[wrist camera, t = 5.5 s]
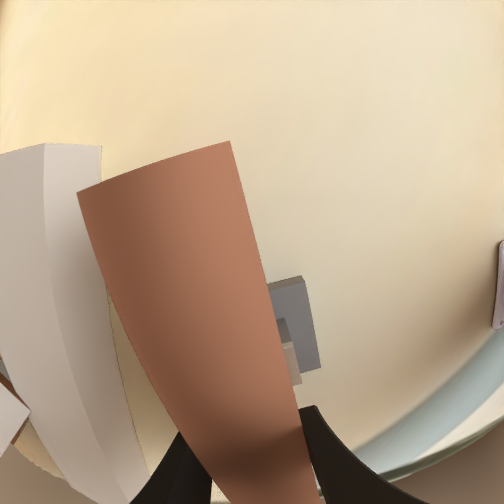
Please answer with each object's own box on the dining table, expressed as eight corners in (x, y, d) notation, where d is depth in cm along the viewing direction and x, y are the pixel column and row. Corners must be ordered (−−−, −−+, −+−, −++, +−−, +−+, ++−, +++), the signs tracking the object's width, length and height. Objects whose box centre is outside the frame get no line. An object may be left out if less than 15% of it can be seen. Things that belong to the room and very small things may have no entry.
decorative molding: (91, 463, 25) (161, 496, 23) (71, 487, 21) (144, 526, 19) (19, 160, 17) (108, 146, 15) (-30, 164, 12) (44, 143, 10)
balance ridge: (301, 275, 17) (319, 305, 13) (317, 358, 18) (333, 398, 15) (166, 308, 17) (150, 344, 13) (199, 385, 19) (193, 427, 15)
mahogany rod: (232, 154, 11) (229, 140, 6) (312, 468, 16) (325, 524, 12) (137, 183, 11) (76, 192, 6) (255, 479, 16) (260, 536, 12)
